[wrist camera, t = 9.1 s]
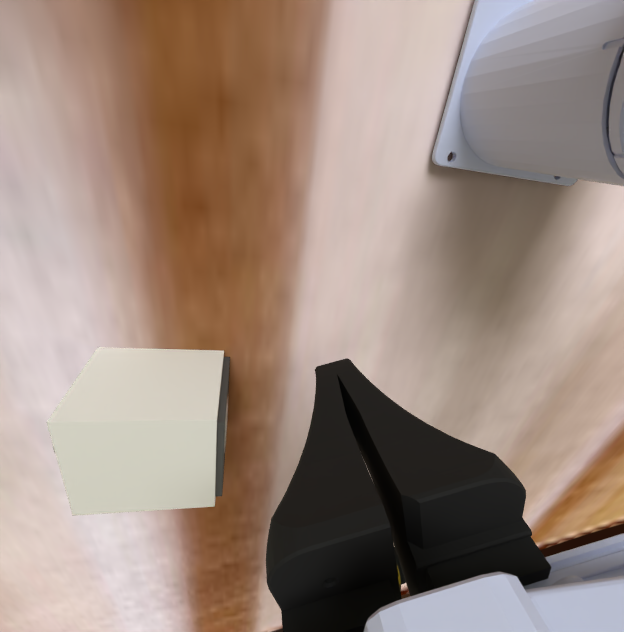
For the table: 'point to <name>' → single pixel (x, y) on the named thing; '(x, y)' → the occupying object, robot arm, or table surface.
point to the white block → (143, 430)
